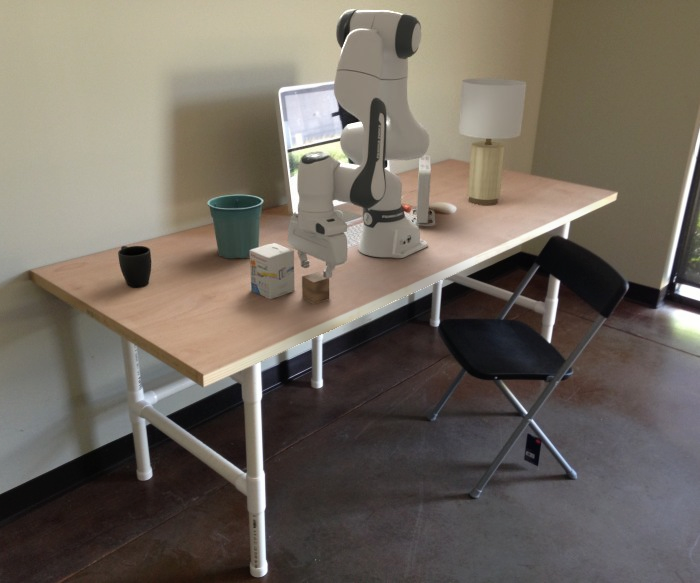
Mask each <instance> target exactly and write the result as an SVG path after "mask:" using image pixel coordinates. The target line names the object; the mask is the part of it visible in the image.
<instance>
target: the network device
mask: <svg viewBox="0 0 700 583" xmlns="http://www.w3.org/2000/svg"><path fill="white" fill-rule="evenodd" d="M431 172H432V169H431V156H430V155H427V154H426V155H425V154H424V155H423V156H422V157H421V158H418V175H417V177H418V178H417V193H416V195H417V196H416V208H413V209H412V208H411V212H410V213H409V214H411V215H413V216H415V217H417V219H416V223H418V224H416V225H418V227H433V225H434V226H436V215H435V213H436V212H435V211H434V210H433V209H430V208H429V207H430V205H429V204H430V192H431V190H430V189H431V174H432V173H431ZM432 210H433V211H432ZM413 211H414V212H416V214H414V212H413ZM428 211H431V212H432V213H431V212H430V213H431V215H429V212H428ZM428 219H431V220H430V221H431V223H428V222H429V220H428Z"/></svg>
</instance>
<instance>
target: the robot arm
mask: <svg viewBox="0 0 700 583" xmlns="http://www.w3.org/2000/svg"><path fill="white" fill-rule="evenodd" d="M421 26H422V25H421V23H420V21H419V19H418V18H417V17H416V16H414V15H411V14H409V13H400V12H396V11H395V12H394V11H392V10H385V9H380V10H373V9H371V10H370V9H364V10H363V9H362V10H360V9H358V8H355V9H347V10H346V11H344V12H343V13H342V14H341V15H340V17H339V18H338V20H337V24H336V31H335V32H336V42H337V43H338V45H339V47H340V48H341V52H340V55H339V59H338V63H337V67H336V71H335V76H334V83H333V94H334V97H335V99H336V101H337V103H338V104H339V106H340V107H341V108H342V109H343V110H344V111H346V112H347V113H349V114H350V115H352V116H354V117H355V118H356V119H358V122H353V123H349V124H346V125H345V126H344V128H343V129H342V131H341V133H340V137H339V138H340V140H339V145H340V149H341V151H342V152H343V154H344V155H345V156H346V157H347V158H348V159H350V160H351V162H353V163H350V162H349V163H348V162H345V161H340V160H337V159H335V158H333V157H332V156H331V154H330V153H329V152H327V151H317V150H316V151H312V152H311V151H310V152H308V153H306V154H304V155H302V156H301V158H300V159H299V163H298V168H297V184H296V185H297V193H298V197H299V199H298V204H297V212H296V211H295V212H293V213H292V214H291V215H290V221H289V224H288V230H287V243H288V246H289V248H290V249H294V250H295V251H296V250H297V255H298V256H297V257H298V259H299V260H300V267H301V268H302V269H303V268H304V269H307V268H308V269H309V268H310V260H309V259H308V256H307V255H309V256H311V257H313V258H315V259H317V260H320V261H322V262H325V266H326V268H325V270H323V271H322V274H323V276H324V277H325V278H328V279H329V280H330V279H331V278H333V271H334V269H335V268H336V266H340V265H344V264H345V263H346V262H347V259H348V239H347V238H348V237H347V235H346V232H347V231H348V224H347V223H346V222H345V221H344V219H342V218H341V217H340V216H339V215H338V214H337V213H336V212H335V206H334V201H338V202H342V203H347V204H350V205H353V206H357V207H359V208H362V221H363V223H362V230H361V235H360V239H359V245H358V248H357V250H358V251H359V253H361V254H363V255H366V256H369V257H374V258H394V259H402V258H403V259H404V258H406V257H408V256H409V255H412V254H414V253H416V252H418V251H420V250H421V251H422V250H423V249H425V248H427V247H428V242H427V241H426V240H424V239H422V238H421V231H420V228H419V226H417V225H416V224H414V223H415V222H414V221H413V222H412V221H410V218H408V217H407V216H406V215H405V213H408V214H410V212H411V210H412V207H411V206H410V205H407V204H405V205H402V194H403V193H402V188H403V184H402V181H401V178H400V177H399V176H398V175H396V174H395V173H393V172H392V171H390V170H388V169H387V168H385V166H386V165H385V163H386V161H410V160H416V159H419V158H421V157H422V156H423V155H425V154H426V153H427V151H428V149H429V146H430V135H429V133H428V130H427V129H426V127H425V126H424V125H423V124H422V123H420V122H419V121H418V120H417V119H416V118H415V117H414V115H413V113H412V112H411V111H412V110H411V109H410V106H409V102H408V77H409V74H408V73H409V58H411V57H412V56H414V55H415V54H416V53H417V51H418V49H419V46H420V44H421V41H422V27H421ZM387 118H388V119H387Z"/></svg>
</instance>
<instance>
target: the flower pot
mask: <svg viewBox="0 0 700 583" xmlns="http://www.w3.org/2000/svg"><path fill="white" fill-rule="evenodd" d="M263 204H264V199H263V198H261V197H259V196H256V195H249V194H230V195H229V194H227V195H221V196H217V197H213V198H211V199H209V200H208V201H207V206H208V207H209V211H210V212H209V213H210V216H211V218H212V222H213V228H214V229H213V230H214V234H215V240H216V247H217V248H216V249H217V252H218V255H219V256H221V257H222V258H225V259H231V260H232V259H236V258H239V259H247V258H248V259H249V258H250V252H249V250H251V249H255V248H258V247H260V228H261V227H260V224H261V223H260V222H261V215H262V208H263V207H262V206H263Z"/></svg>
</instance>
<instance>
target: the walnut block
mask: <svg viewBox="0 0 700 583" xmlns="http://www.w3.org/2000/svg"><path fill="white" fill-rule="evenodd" d="M323 275H324V274H323V273H320V272H319V271H316V272H312V273H309V274H306V275H303V276H301V294H302V299H304V300H306V301H308V302H310V303H312V304H313V305H315V304H318V303H321V302H324V301H327V300H330V278H329V279H328V278H325V277H324V276H323Z"/></svg>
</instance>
